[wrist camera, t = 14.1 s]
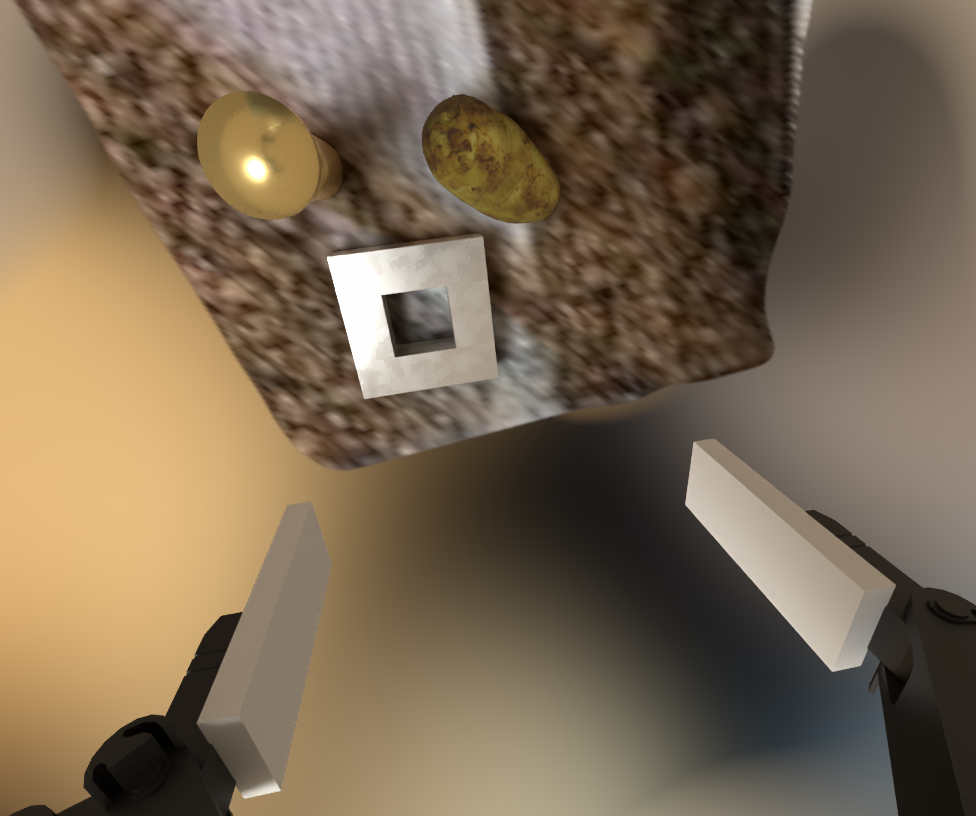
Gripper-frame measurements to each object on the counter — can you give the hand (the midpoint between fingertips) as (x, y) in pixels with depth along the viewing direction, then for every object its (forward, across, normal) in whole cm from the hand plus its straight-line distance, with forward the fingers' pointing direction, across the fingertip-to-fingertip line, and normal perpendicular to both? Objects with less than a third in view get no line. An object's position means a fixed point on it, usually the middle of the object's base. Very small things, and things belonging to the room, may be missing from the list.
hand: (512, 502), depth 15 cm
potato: (+35, +5, +11) cm, 37 cm away
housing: (+35, -3, -1) cm, 35 cm away
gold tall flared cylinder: (+34, -10, +13) cm, 38 cm away
